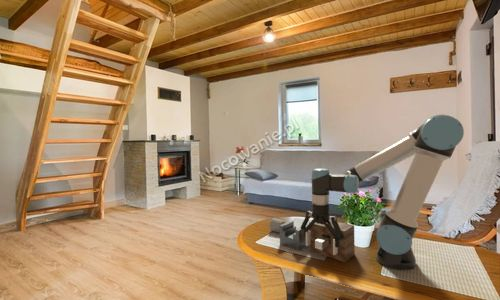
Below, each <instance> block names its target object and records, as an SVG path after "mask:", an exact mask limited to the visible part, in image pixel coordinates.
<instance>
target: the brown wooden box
mask: <svg viewBox="0 0 500 300" xmlns="http://www.w3.org/2000/svg"><path fill="white" fill-rule="evenodd" d="M329 221H330V219H329ZM330 222H331V225H332V226H333V224H332V221H330ZM337 223H338V225H339V227H340V229H341V232H342V234H343V236H344V238H343V239H341V240H339V247H338V253H337V254H336V255H333V240H334V237H333V236H332V234H331V233H330V231H329V230H328V228H327V227H326V226H325V225H324V224H323V225H322V224H318V223H316V222H315V223H314V225H313V226H312V227H311V228H310V229H309V231H310V245H309V252H312V253H314V254H319V255H321V256H324V257H328V258H330V259H334V260H336V261H340V262H343V263H347V262H348V261H349V260H350V259H351V258H352V257H353V256H355V225H354V224H349V223H345V222H339V221H337ZM327 224H328V223H327ZM333 228H334V227H333ZM323 235H328V236H331V245H329V246H328V247H326V248H325V249H323V250H320V249H317V248H315V240H317V239H318V238H320V237H322V236H323Z"/></svg>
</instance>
